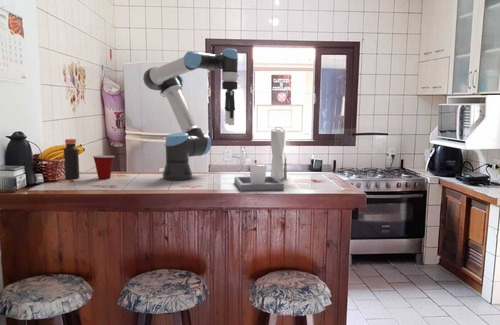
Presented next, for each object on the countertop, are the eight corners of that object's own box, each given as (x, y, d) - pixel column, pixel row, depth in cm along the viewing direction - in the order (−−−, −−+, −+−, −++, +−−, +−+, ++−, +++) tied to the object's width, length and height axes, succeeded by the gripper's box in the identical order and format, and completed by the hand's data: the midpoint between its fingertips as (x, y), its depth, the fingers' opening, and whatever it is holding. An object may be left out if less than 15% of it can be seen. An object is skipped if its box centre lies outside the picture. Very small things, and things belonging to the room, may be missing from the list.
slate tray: (234, 182, 205) (234, 176, 204) (273, 182, 208) (273, 176, 208) (240, 191, 185) (240, 184, 185) (283, 190, 189) (283, 183, 188)
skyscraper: (282, 181, 211) (284, 127, 207) (267, 180, 214) (268, 126, 210) (287, 178, 219) (288, 126, 215) (272, 177, 222) (273, 125, 218)
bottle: (75, 179, 207) (74, 140, 204) (62, 179, 207) (60, 139, 204) (81, 177, 213) (80, 138, 210) (68, 177, 213) (66, 138, 211)
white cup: (264, 187, 192) (264, 166, 191) (247, 186, 194) (248, 165, 192) (267, 184, 200) (267, 163, 198) (251, 183, 201) (251, 163, 200)
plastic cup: (119, 176, 216) (118, 154, 214) (109, 180, 206) (108, 156, 204) (100, 176, 218) (99, 153, 216) (89, 179, 208) (88, 156, 206)
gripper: (241, 80, 192) (240, 125, 195) (233, 82, 216) (233, 123, 219) (225, 79, 190) (224, 125, 193) (219, 82, 215) (219, 123, 218)
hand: (229, 124), depth 206 cm, fingers open, 13 cm apart
